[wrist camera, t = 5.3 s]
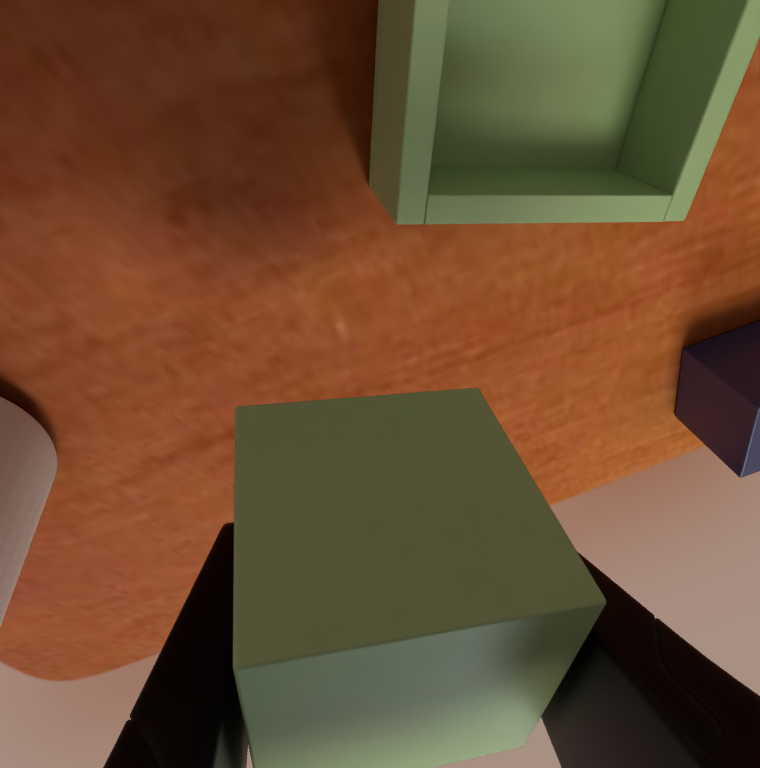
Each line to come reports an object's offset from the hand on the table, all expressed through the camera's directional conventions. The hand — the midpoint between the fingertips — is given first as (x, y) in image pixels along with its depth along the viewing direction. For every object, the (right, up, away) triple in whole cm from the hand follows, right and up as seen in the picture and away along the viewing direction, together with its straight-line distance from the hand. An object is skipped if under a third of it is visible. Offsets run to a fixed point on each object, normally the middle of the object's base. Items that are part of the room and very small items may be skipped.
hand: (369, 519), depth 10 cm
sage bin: (+5, +13, +5) cm, 15 cm away
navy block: (+17, +3, +16) cm, 23 cm away
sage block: (0, +1, +1) cm, 1 cm away
